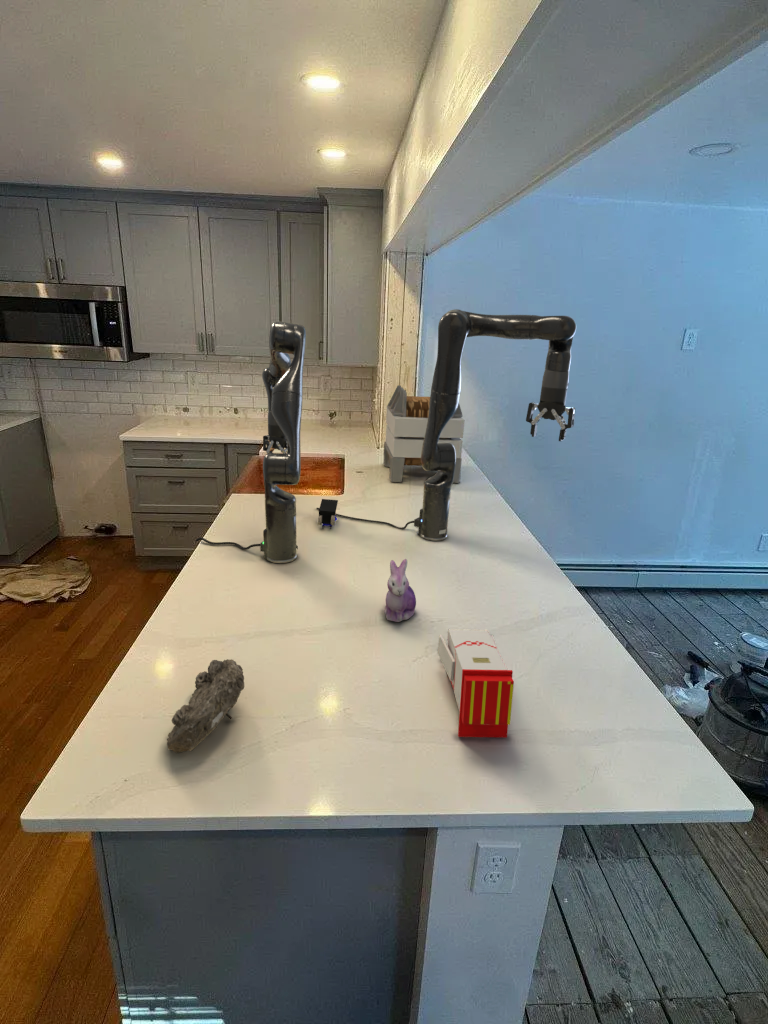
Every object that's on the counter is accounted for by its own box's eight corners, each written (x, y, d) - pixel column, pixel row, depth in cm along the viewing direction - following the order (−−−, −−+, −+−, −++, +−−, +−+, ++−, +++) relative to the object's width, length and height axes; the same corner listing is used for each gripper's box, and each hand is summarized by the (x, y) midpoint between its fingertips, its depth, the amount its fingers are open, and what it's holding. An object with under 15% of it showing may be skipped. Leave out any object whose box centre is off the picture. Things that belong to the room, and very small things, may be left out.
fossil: (192, 660, 117) (244, 628, 112) (224, 691, 120) (276, 661, 115) (142, 746, 98) (202, 712, 93) (182, 779, 101) (242, 748, 96)
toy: (488, 613, 130) (523, 677, 101) (484, 667, 133) (517, 744, 104) (435, 612, 130) (455, 676, 101) (432, 666, 133) (451, 743, 103)
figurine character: (335, 535, 199) (338, 516, 213) (336, 516, 196) (338, 497, 209) (316, 534, 199) (320, 515, 213) (316, 515, 196) (320, 497, 209)
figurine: (392, 627, 141) (395, 572, 136) (374, 608, 149) (376, 556, 144) (425, 619, 145) (429, 566, 140) (405, 601, 154) (408, 550, 149)
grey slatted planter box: (382, 463, 289) (386, 382, 275) (445, 464, 293) (451, 384, 279) (390, 482, 257) (394, 392, 243) (460, 483, 261) (468, 394, 247)
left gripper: (257, 421, 212) (258, 463, 217) (285, 426, 204) (285, 470, 210) (271, 418, 218) (272, 459, 223) (299, 423, 210) (299, 466, 216)
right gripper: (527, 384, 171) (520, 437, 176) (574, 389, 164) (566, 444, 169) (536, 382, 177) (529, 433, 182) (582, 387, 169) (573, 440, 175)
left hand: (278, 464), depth 217 cm, fingers open, 8 cm apart
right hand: (547, 438), depth 176 cm, fingers open, 8 cm apart
